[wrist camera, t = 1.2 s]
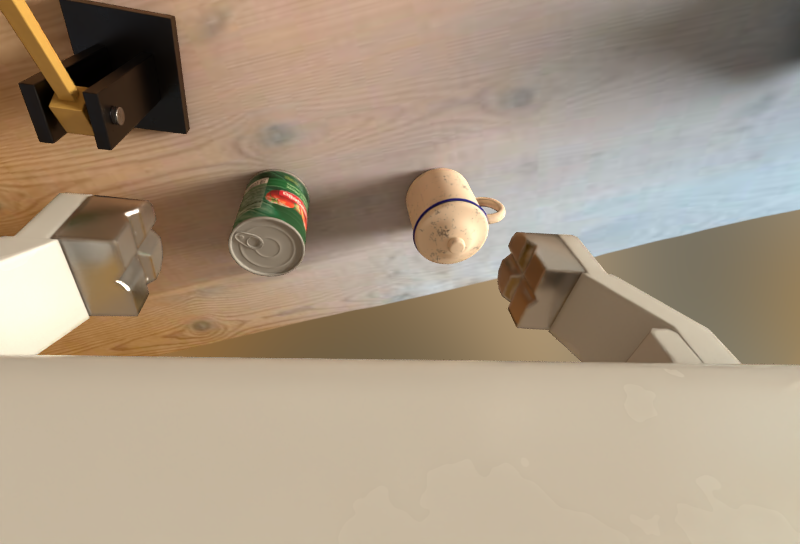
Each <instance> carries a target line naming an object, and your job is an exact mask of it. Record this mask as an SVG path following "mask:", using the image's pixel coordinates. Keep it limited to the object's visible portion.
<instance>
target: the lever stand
mask: <svg viewBox="0 0 800 544" xmlns="http://www.w3.org/2000/svg"><path fill="white" fill-rule="evenodd" d="M59 1H60V5H61V9H62V12H63V16H64V19H65V23H66V27H67V30H68V34H69V38H70V41H71V45H72V48H73V52H74V55H73V56H71V57H69V58H67V59H65V60H63V61H61V63H62V65H63V66H64V68H65V70H66V71H67V73H68V75H69V76H70V78H71V80H72V81H73V83H74V85H75V86H80V87H87V88H88V89H86V90H85V91H83V92H82V93H83V97H84V101H85V104H86V108H87V111H88V115H89V118H90V122H91V126H92V129H93V133H94V136H95V140H96V144H97V147H98V149H105V150H112V149H113V148H114V147H115V146H116V145H117V144H118V143H119V142H120V141H121V140H122V139H123V138H124V137H125V136H126V135H127V134H128V133H129V132H130V131H131V130H132V129H133V128H142V129H150V130H158V131H166V132H173V133H181V134H187V132H188V131H189V129H190V128H189V121H188V113H187V105H186V98H185V90H184V82H183V75H182V67H181V59H180V52H179V44H178V37H177V29H176V21H175V16H171V15H165V14H160V13H154V12H149V11H143V10H138V9H132V8H127V7H122V6H116V5H111V4H105V3H100V2H94V1H89V0H59ZM18 84H19V87H20V90H21V93H22V95H23V98H24V101H25V103H26V106H27V109H28V112H29V114H30V117H31V120H32V123H33V125H34V128H35V131H36V133H37V136H38V139H39V141H40V142H45V143H55V142H56V141H58V140H59V139H60V138H61V137H63V136H64V135H65V134H66V133H67V132H66V131H65V129H64V128H63V126H62V125H61V124H60V122H59V121H58V119H57V118H56V116H55V115H54V114H53V112H52V111H51V109H50V108H49V104H50V102H51V99H52V97H53V95H54V90H53V89H52V87H51V86H50V84H49V83H48V81H47V80H46V78H45V77H44V75H43V74H42V72H39V73H37V74H35V75H33V76H31V77H29V78H27V79H25V80H23V81H21V82H19V83H18Z"/></svg>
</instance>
